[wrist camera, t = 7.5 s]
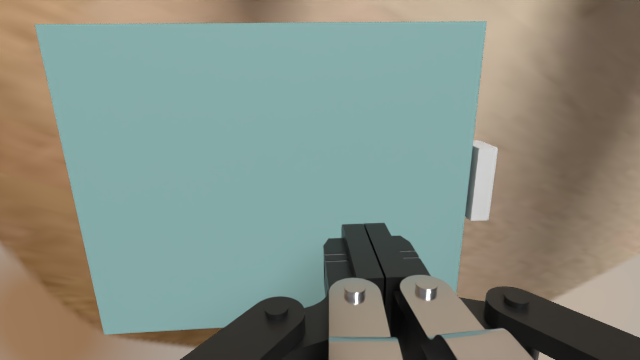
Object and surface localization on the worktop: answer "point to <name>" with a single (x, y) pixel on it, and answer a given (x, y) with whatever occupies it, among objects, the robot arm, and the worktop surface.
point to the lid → (260, 155)
